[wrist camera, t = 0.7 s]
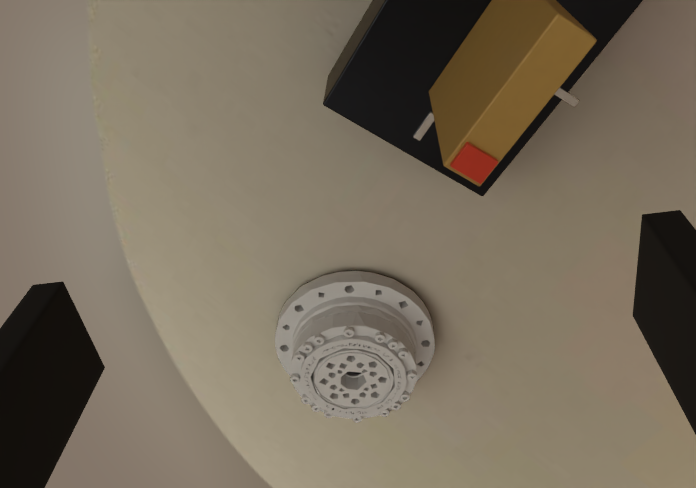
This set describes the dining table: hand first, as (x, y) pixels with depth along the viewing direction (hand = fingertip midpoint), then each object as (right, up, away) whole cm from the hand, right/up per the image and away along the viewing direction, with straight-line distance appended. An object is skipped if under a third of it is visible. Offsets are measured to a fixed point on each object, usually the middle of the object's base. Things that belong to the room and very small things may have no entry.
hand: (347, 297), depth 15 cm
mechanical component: (0, -4, +27) cm, 27 cm away
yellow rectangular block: (+6, +10, +13) cm, 17 cm away
